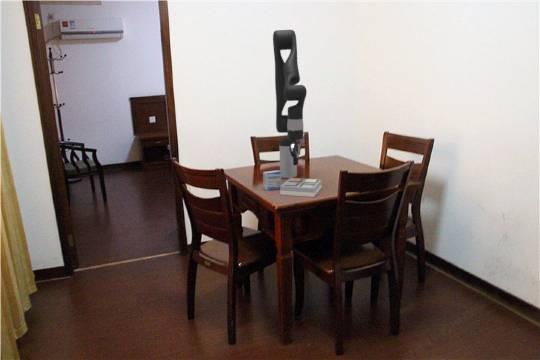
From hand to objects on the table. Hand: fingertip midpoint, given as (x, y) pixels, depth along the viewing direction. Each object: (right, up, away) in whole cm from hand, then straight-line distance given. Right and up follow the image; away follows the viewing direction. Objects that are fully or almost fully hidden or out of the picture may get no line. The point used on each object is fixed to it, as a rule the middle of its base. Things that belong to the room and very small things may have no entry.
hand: (295, 164), depth 193 cm
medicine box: (-11, -12, +4) cm, 17 cm away
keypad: (+3, -13, -2) cm, 13 cm away
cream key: (+7, -9, 0) cm, 12 cm away
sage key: (+5, -12, -7) cm, 14 cm away
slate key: (-2, -11, -5) cm, 12 cm away
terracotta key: (0, -9, +2) cm, 9 cm away
